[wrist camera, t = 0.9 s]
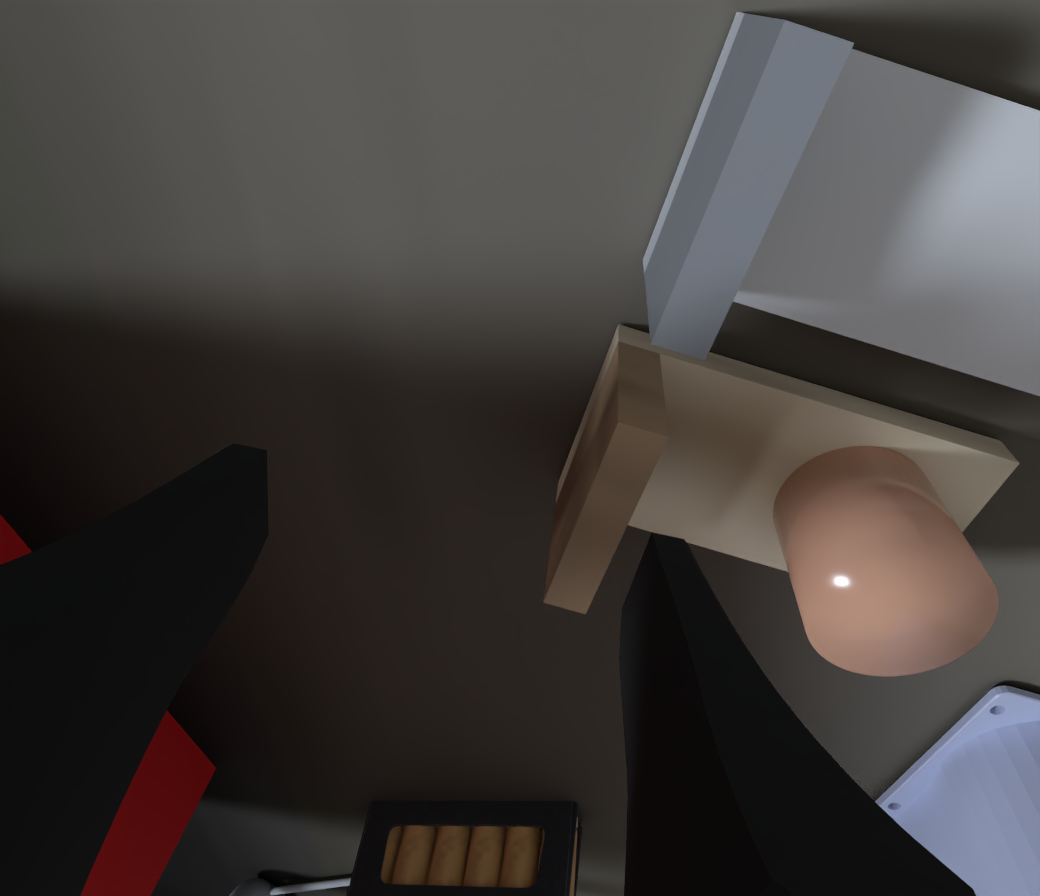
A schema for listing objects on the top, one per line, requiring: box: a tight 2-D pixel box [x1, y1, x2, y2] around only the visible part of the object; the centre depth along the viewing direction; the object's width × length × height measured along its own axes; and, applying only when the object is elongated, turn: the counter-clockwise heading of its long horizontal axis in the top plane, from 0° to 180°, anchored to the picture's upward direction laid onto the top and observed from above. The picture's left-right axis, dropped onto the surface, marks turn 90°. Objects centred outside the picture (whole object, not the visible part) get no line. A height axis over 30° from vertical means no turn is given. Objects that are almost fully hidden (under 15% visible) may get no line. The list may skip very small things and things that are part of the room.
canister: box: [773, 446, 999, 676], centre depth 20 cm, size 4×4×4 cm
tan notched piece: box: [543, 324, 1020, 614], centre depth 20 cm, size 6×12×6 cm, turn 75°
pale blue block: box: [643, 12, 1040, 396], centre depth 16 cm, size 6×12×6 cm, turn 75°
